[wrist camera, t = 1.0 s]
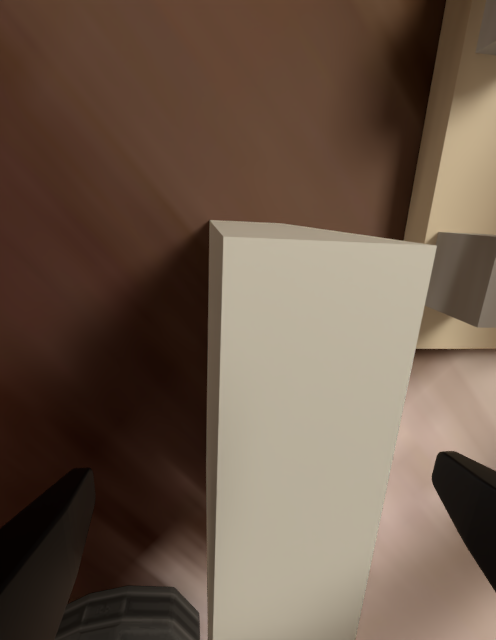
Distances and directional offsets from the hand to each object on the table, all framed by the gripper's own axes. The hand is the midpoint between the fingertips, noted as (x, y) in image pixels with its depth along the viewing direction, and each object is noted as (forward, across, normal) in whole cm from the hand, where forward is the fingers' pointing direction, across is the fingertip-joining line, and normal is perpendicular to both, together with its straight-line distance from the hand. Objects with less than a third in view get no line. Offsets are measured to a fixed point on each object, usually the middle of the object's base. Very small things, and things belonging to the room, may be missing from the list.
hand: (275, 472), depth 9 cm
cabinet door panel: (+8, 0, 0) cm, 8 cm away
